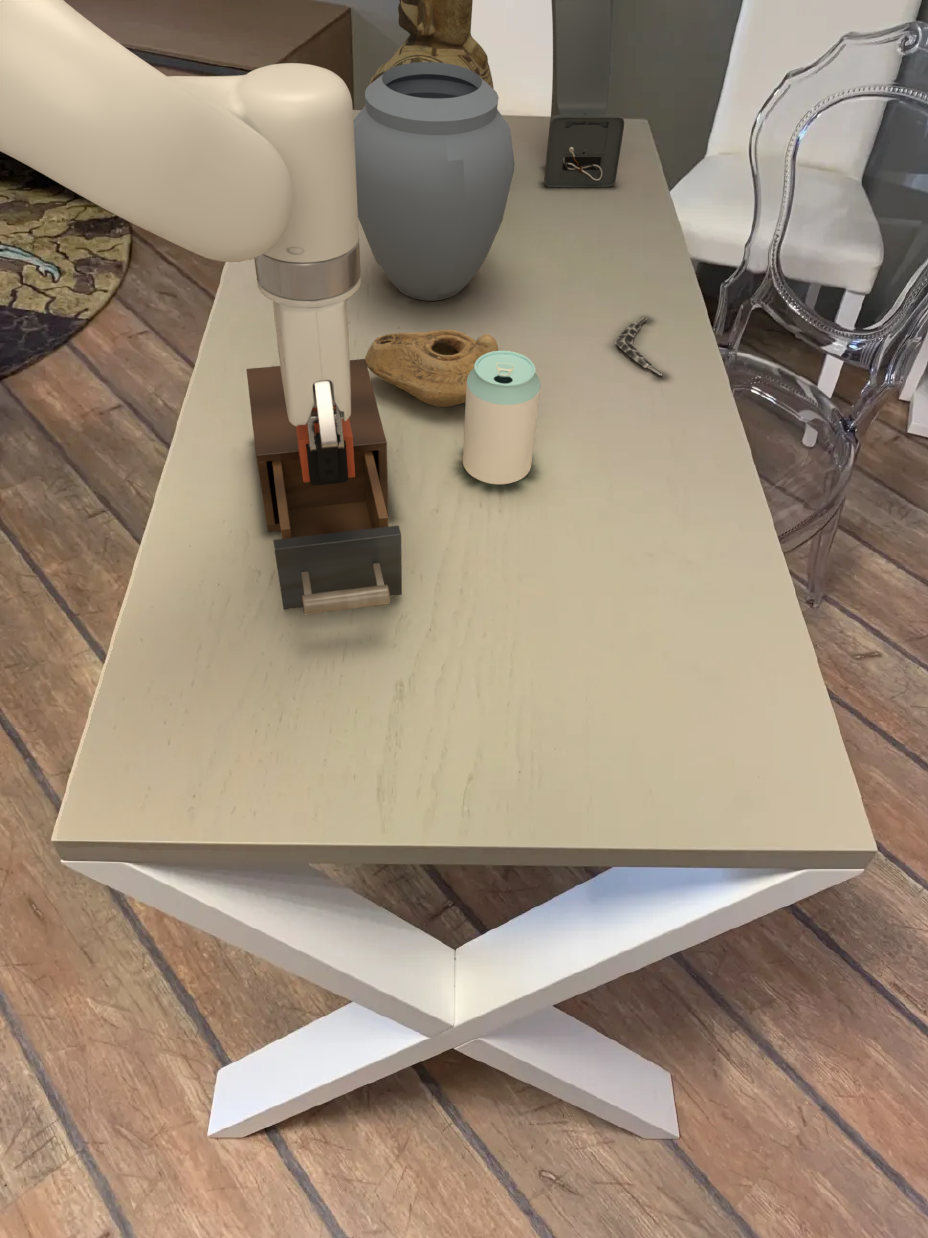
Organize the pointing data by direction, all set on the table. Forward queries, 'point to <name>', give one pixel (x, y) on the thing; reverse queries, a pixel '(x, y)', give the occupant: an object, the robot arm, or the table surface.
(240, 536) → the table surface
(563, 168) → the light fixture
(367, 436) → the cabinet
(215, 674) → the table surface
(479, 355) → the oil lamp
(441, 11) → the brown tall carved piece
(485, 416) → the can
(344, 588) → the drawer
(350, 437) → the block
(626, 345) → the boomerang
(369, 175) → the vase
